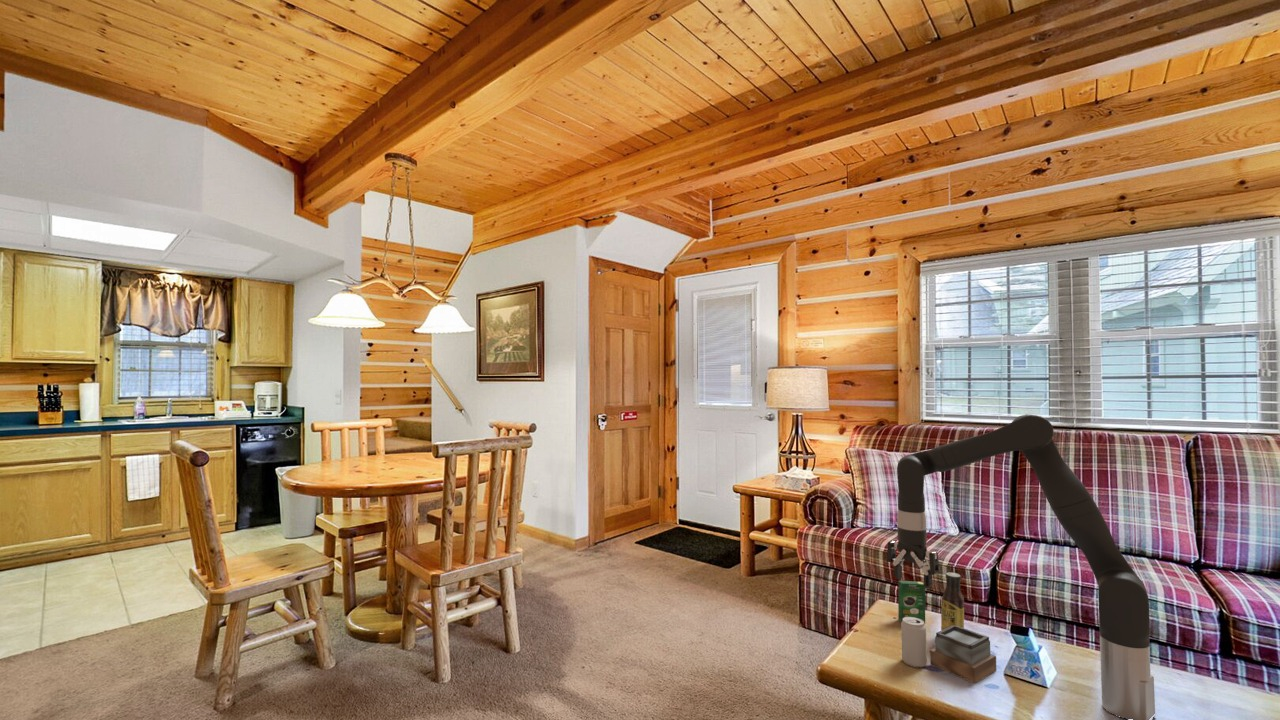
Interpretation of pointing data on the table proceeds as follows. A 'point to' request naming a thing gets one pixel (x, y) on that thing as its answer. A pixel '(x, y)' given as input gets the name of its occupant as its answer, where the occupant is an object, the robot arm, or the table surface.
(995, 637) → the table surface
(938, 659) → the tower base
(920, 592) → the coffee box
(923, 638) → the beverage can
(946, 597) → the sauce bottle
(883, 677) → the table surface
